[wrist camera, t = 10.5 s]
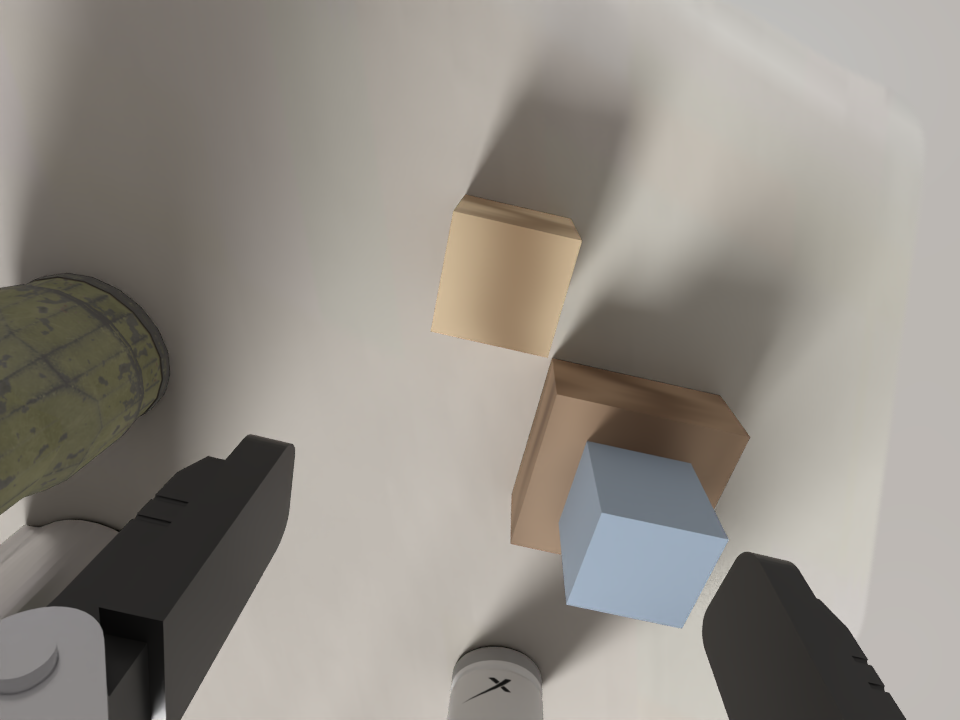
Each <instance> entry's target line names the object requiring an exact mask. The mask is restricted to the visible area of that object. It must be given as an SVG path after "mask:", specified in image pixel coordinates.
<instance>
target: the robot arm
mask: <svg viewBox="0 0 960 720" xmlns="http://www.w3.org/2000/svg"><path fill="white" fill-rule="evenodd" d="M294 459H295V447H294V445H293V444H290V443H286V442H282V441H277V440H273V439H269V438H265V437H260V436H256V435H251V434H250V435H247V436H246V437H245V438H244V439H243V440H242V441H241V442H240V443H239V445H238V446H237V447H236V448H235V449H234V450H233V452H232V453H231V454H230V455H229V456H228V457H227V459H226V460H222V459H218V458H214V457H209V456H207V457H206V458H204V459H202V460H200V461H198V462H196V463H194V464H192V465H190V466H188V467H186V468H184V469H182V470H181V471H179V472H177V473H176V474H175V475H174V476H173V477H172V478H171V479H170V480H169V481H168V482H167V483H166V484H165V485H164V486H163V488H162V489H161V490H160V491H159V492H158V493H157V494H156V495H155V498H154V500H152V499H151V500H150V501H149V502H148V503H147V504H146V505H145V506H144V507H143V508H142V509H141V510H140V511H139V512H138V513H137V516H136V518H135V519H132V520H131V521H130V522H129V523H128V524H127V525H126V526H125V527H124V528H123V529H122V530H121V531H120V532H117V531H115V530H114V529H112V528H109V527H106V526H103V525H100V524H98V523H93V522H88V521H83V520H62V521H56V522H53V523H50V524H48V525H45V526H42V527H32V526H27V525H24V526H23V527H21V528H20V529H19V530H18V531H16V532H15V533H14V534H13V535H12V536H10V537H9V538H8V539H7V540H5V541H4V542H3V543H2V544H1V545H0V720H181V718H182V716H183V715H184V713H185V711H186V709H187V707H188V706H189V704H190V702H191V700H192V699H193V697H194V695H195V693H196V692H197V690H198V688H199V686H200V684H201V683H202V681H203V679H204V677H205V676H206V674H207V672H208V670H209V669H210V667H211V665H212V663H213V661H214V660H215V658H216V656H217V654H218V653H219V651H220V649H221V647H222V646H223V644H224V642H225V640H226V638H227V637H228V635H229V633H230V631H231V630H232V628H233V626H234V624H235V622H236V621H237V619H238V617H239V615H240V614H241V612H242V610H243V608H244V607H245V605H246V603H247V601H248V599H249V598H250V596H251V594H252V592H253V591H254V589H255V587H256V585H257V584H258V582H259V580H260V578H261V576H262V575H263V573H264V571H265V569H266V568H267V566H268V564H269V562H270V561H271V559H272V557H273V555H274V553H275V552H276V550H277V548H278V546H279V544H280V541H281V539H282V536H283V534H284V531H285V528H286V524H287V520H288V515H289V508H290V498H291V488H292V479H293V469H294ZM702 637H703V644H704V648H705V651H706V654H707V657H708V660H709V663H710V666H711V668H712V671H713V674H714V677H715V680H716V683H717V686H718V689H719V692H720V694H721V697H722V700H723V703H724V706H725V709H726V712H727V715H728V718H729V720H906V718H905V717H904V715H903V714H902V712H901V711H900V709H899V707H898V706H897V704H896V703H895V701H894V700H893V698H892V696H891V695H890V693H888V692H885V691H884V684H883V683H882V681H881V679H880V678H879V676H878V675H877V673H876V672H875V670H874V668H873V667H872V666H871V665H868V664H867V660H868V659H867V657H866V656H865V654H864V653H863V651H862V650H861V648H860V647H859V645H858V644H857V642H856V640H855V639H854V637H853V636H852V634H851V632H850V631H849V629H848V628H847V627H846V626H845V625H844V624H843V623H842V622H841V621H840V620H839V619H838V618H837V617H836V616H835V615H834V614H833V613H832V612H831V611H830V610H829V608H828V607H827V606H826V605H825V604H824V603H823V602H822V601H821V600H820V599H816V597H815V595H814V594H813V592H812V590H811V589H810V587H809V586H808V584H807V582H806V581H805V579H804V577H803V576H802V574H801V573H800V571H799V569H798V568H797V567H796V566H795V565H794V564H793V563H791V562H789V561H786V560H781V559H777V558H773V557H768V556H764V555H760V554H756V553H751V552H744V553H742V554H740V555H739V556H738V557H737V558H736V560H735V562H734V563H733V565H732V567H731V568H730V570H729V572H728V574H727V575H726V577H725V579H724V580H723V582H722V584H721V586H720V587H719V589H718V591H717V592H716V594H715V596H714V598H713V599H712V601H711V603H710V604H709V606H708V608H707V610H706V612H705V615H704V619H703V626H702Z"/></svg>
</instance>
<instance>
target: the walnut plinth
mask: <svg viewBox="0 0 960 720" xmlns="http://www.w3.org/2000/svg"><path fill="white" fill-rule="evenodd" d="M749 439H750V436H749V435H748V433H747V432H746V431H745V429H744V428H743V426H742V425H741V424H740V422H739V421H738V420H737V418H736V417H735V415H734V414H733V413H732V411H731V410H730V408H729V407H728V406H727V404H726V403H725V402H724V400H723V399H722V397H721V396H719V395H715V394H710V393H706V392H701V391H697V390H693V389H688V388H684V387H679V386H675V385H670V384H666V383H661V382H657V381H652V380H648V379H643V378H639V377H634V376H630V375H625V374H621V373H616V372H612V371H607V370H603V369H598V368H594V367H589V366H585V365H581V364H576V363H572V362H567V361H563V360H558V359H554V358H552V360H551V364H550V367H549V370H548V374H547V377H546V380H545V384H544V387H543V391H542V394H541V397H540V401H539V404H538V407H537V411H536V414H535V418H534V421H533V424H532V428H531V431H530V434H529V438H528V441H527V445H526V448H525V451H524V455H523V458H522V461H521V465H520V468H519V472H518V475H517V478H516V482H515V485H514V488H513V492H512V501H511V544H514V545H518V546H523V547H528V548H532V549H537V550H542V551H546V552H551V553H556V554H560V555H562V554H561V543H560V533H559V520H560V517H561V514H562V512H563V509H564V506H565V503H566V500H567V497H568V494H569V491H570V488H571V485H572V483H573V480H574V477H575V474H576V471H577V468H578V465H579V462H580V459H581V457H582V454H583V451H584V448H585V445H586V442H587V441H589V442H594V443H599V444H603V445H608V446H613V447H617V448H622V449H626V450H631V451H636V452H640V453H645V454H650V455H654V456H659V457H664V458H668V459H673V460H678V461H682V462H687V463H691V465H692V467H693V469H694V471H695V473H696V475H697V477H698V479H699V481H700V483H701V485H702V487H703V489H704V491H705V493H706V495H707V497H708V499H709V501H710V503H711V505H712V507H713V509H714V508H715V506H716V504H717V502H718V500H719V498H720V496H721V494H722V492H723V490H724V488H725V486H726V484H727V482H728V480H729V478H730V476H731V474H732V472H733V470H734V468H735V466H736V464H737V462H738V460H739V458H740V456H741V454H742V452H743V450H744V448H745V446H746V444H747V443H748V441H749Z"/></svg>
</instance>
